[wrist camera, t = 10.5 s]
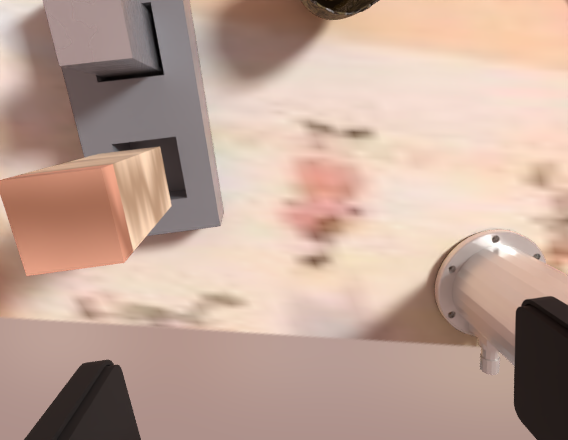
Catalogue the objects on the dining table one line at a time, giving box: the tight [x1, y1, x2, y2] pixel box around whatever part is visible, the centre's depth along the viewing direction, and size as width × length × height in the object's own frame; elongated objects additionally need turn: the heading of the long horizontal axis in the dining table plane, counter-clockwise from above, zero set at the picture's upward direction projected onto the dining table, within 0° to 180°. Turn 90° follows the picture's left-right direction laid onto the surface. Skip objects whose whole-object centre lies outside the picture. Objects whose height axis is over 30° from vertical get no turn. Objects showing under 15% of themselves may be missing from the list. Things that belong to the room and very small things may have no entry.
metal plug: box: [43, 0, 164, 80], centre depth 29 cm, size 4×4×12 cm
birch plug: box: [0, 147, 172, 276], centre depth 23 cm, size 4×4×12 cm
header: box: [61, 0, 224, 236], centre depth 34 cm, size 21×10×5 cm, turn 7°
